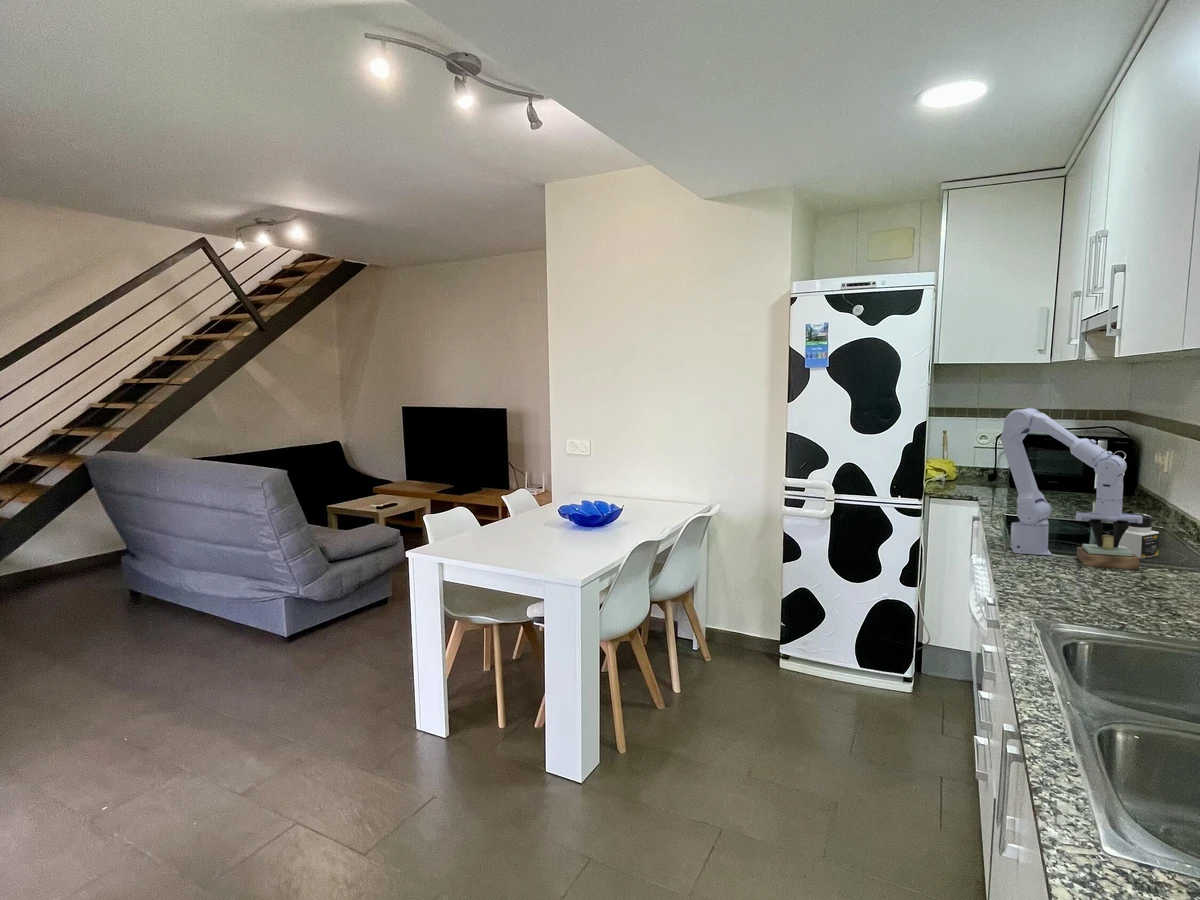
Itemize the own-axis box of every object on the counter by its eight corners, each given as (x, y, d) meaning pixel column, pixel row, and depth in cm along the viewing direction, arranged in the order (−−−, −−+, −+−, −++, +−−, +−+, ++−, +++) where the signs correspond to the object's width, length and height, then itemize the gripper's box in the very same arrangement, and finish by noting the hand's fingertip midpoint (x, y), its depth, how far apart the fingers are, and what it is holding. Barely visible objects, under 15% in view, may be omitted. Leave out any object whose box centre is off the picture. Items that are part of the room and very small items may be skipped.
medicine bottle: (1141, 558, 179) (1143, 518, 178) (1114, 552, 186) (1116, 513, 185) (1158, 555, 181) (1160, 515, 180) (1131, 549, 188) (1133, 511, 187)
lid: (1088, 553, 175) (1089, 537, 175) (1082, 547, 181) (1083, 532, 181) (1132, 556, 171) (1133, 540, 170) (1125, 549, 177) (1125, 534, 176)
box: (1084, 566, 175) (1084, 555, 175) (1076, 557, 183) (1077, 546, 183) (1139, 570, 170) (1139, 558, 169) (1128, 561, 178) (1129, 549, 177)
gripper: (1080, 500, 174) (1078, 548, 175) (1147, 503, 168) (1144, 552, 169) (1074, 496, 180) (1072, 541, 182) (1138, 498, 174) (1136, 545, 175)
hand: (1107, 546), depth 176 cm, fingers closed on lid, 3 cm apart
